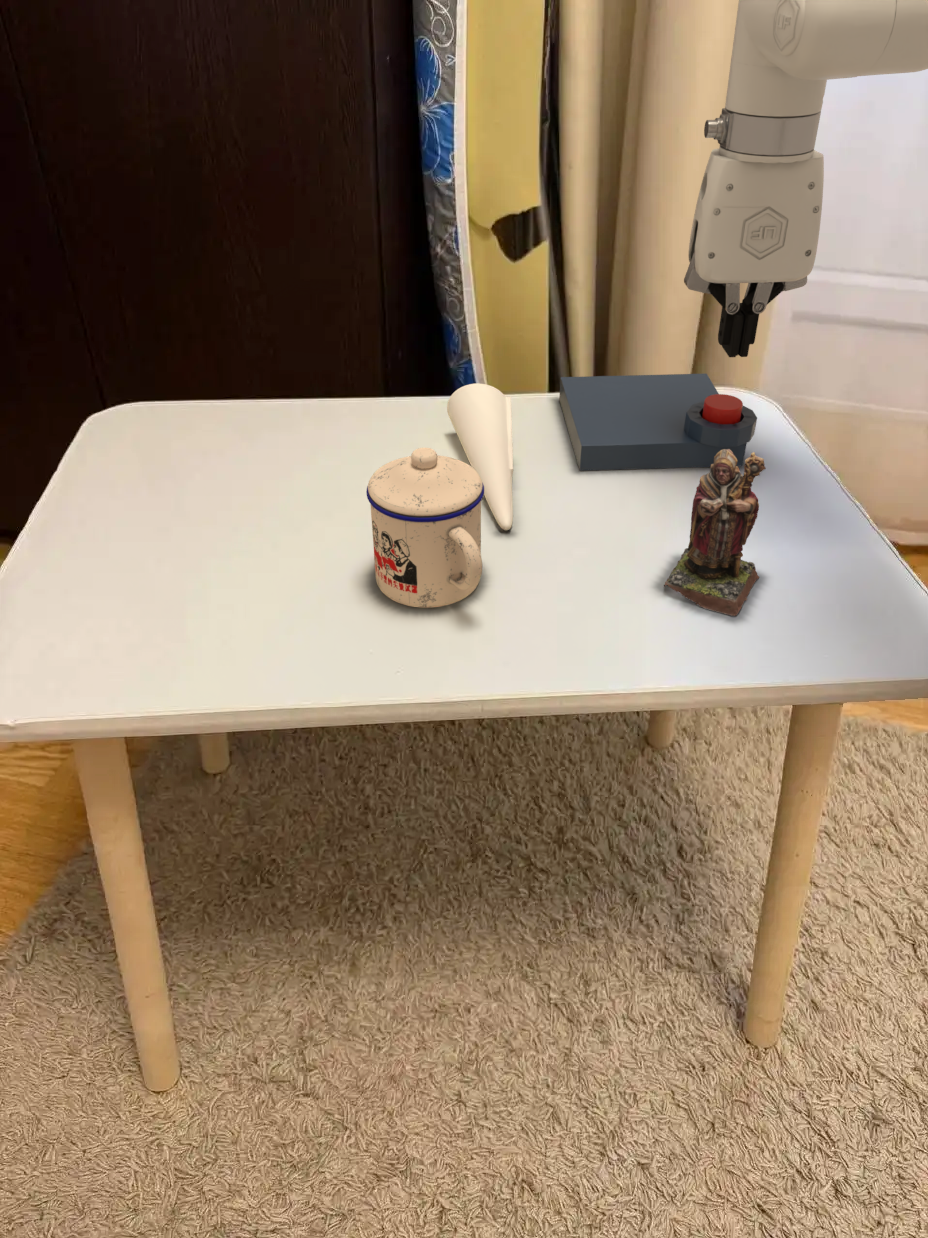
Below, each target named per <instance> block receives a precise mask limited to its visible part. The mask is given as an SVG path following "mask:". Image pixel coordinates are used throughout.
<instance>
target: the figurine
mask: <svg viewBox="0 0 928 1238" xmlns="http://www.w3.org/2000/svg"><path fill="white" fill-rule="evenodd" d="M736 465H737V458H736V457H735V455H734V454H733V452H732V451H731V450H730V449H728V450H726V449H723V450H721V451H719V452H718V453H717V454H716V456H714V464H711V466H710V467H709V472H708V473H706V474H703V475H701V476H700V478H699V484H698V486H696V490H695V494H694V497H693V500H692V509H691V515H690V516H691V517H690V518H691V519H690V530H689V531H690V533H689V543H688V546H687V547H686V548H684V550H683V553H682V554H680V555H681V557H680V559H679V560H678V561H677V564H676V566H675V567H674V568H673V569H672V571H671V572H670V574H669V577H668V578H667V579H666V581H664V584H663V587H664V588H666V586H668V588H670V589H671V590H674V592H676V593H680V595H681V596H684V598H685V599H687V600H689V601H691V602H693V603H695V605H697V606H699V607H700V608H702V609H705V610H710V611H712V612H717V613H721V614H725V615H728V616H731V617H737V616H738V614H739V612H740V611H741V609H742V608H743V605H744V604H745V601H748V596H749V594H750V592H751V590H752V588H753V586H754V584H755V583H756V582H757V580H759V579H760V576H759V575H758V572H757V569H756V564H755V563H754V562H753V561H746V560H743V559H742V558H743V556H744V554H743V551H744V546H745V545H746V543H747V540H748V538H749V537H750V535H751V532H752V529H753V528H754V526H755V524H756V520H757V519H758V514H759V511H760V503H759V498H758V496H757V495H756V493H755V492H754V491H752V486H753V483H754V481H755V478H756V477H759V476H761V473H762V472H763V471H764V470H766V469H767V467H766V466H765V465H766V464H765V459H764V458H763V457H761V456H757V455H756V453H755V451H753V452H751V453H750V455H749V457H747V458H746V459H744V464H743V474H742V473H741V470H740V468H739V466H736Z"/></svg>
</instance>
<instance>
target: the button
mask: <svg viewBox="0 0 928 1238" xmlns="http://www.w3.org/2000/svg"><path fill="white" fill-rule="evenodd" d="M743 406H744V403H743V401H742V399H740V398H739V397H737V396H734V395H731V394H725V393H724V394H723V393H719V394H716V395H711V396H708V397H707V398H706V399H705V401H704V407H703V414H702V418H703V419H705V420H707V421H709V422H712V423H717V424H735V423H738V422H740V418H741V412H742V407H743Z"/></svg>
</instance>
